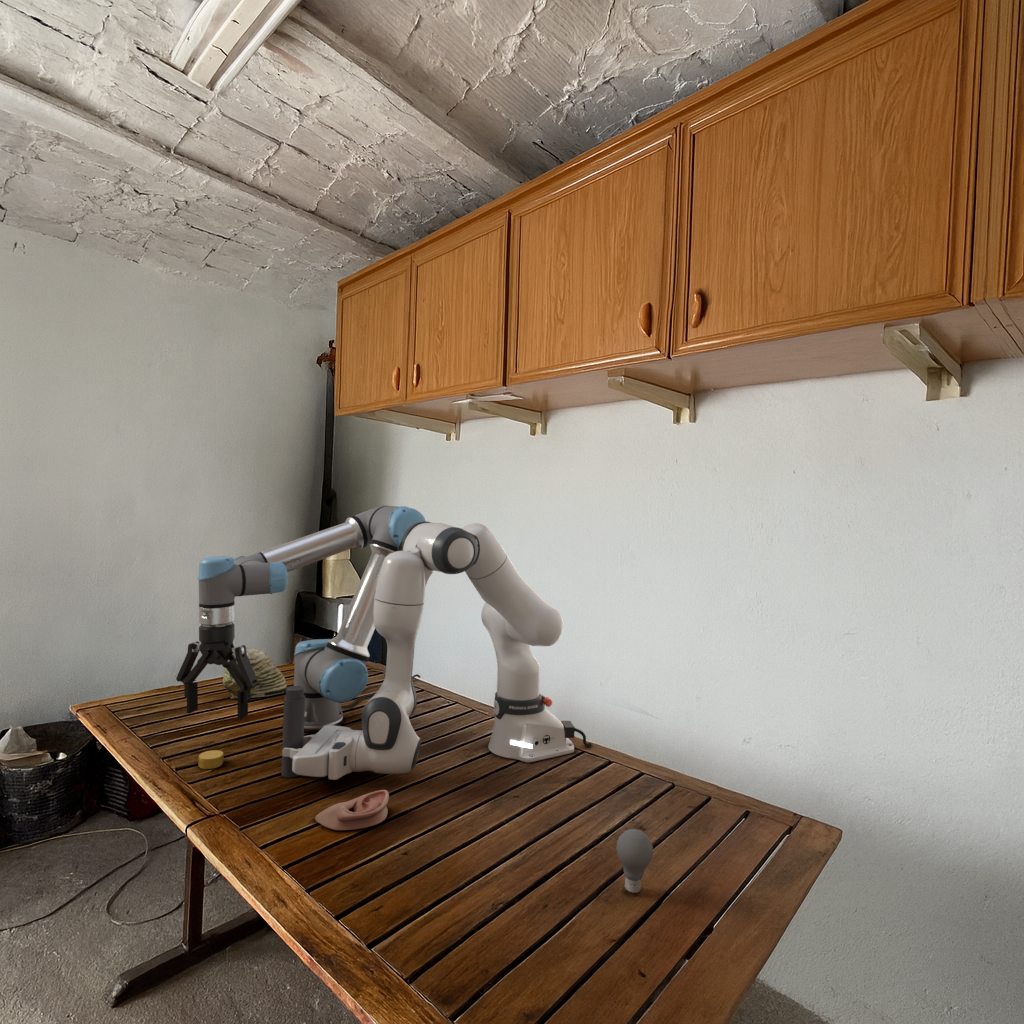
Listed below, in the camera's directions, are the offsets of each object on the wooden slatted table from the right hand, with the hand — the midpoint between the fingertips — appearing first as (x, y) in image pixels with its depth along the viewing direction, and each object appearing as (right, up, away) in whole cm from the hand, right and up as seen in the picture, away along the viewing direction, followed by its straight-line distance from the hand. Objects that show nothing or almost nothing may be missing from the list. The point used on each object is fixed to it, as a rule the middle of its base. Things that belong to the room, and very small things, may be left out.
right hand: (288, 746), depth 144 cm
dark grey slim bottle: (+1, -6, 0) cm, 6 cm away
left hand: (-18, +6, +3) cm, 19 cm away
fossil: (-30, -4, +54) cm, 62 cm away
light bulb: (+71, -10, -39) cm, 81 cm away
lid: (-19, -3, +3) cm, 20 cm away
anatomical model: (+19, -7, -18) cm, 28 cm away
